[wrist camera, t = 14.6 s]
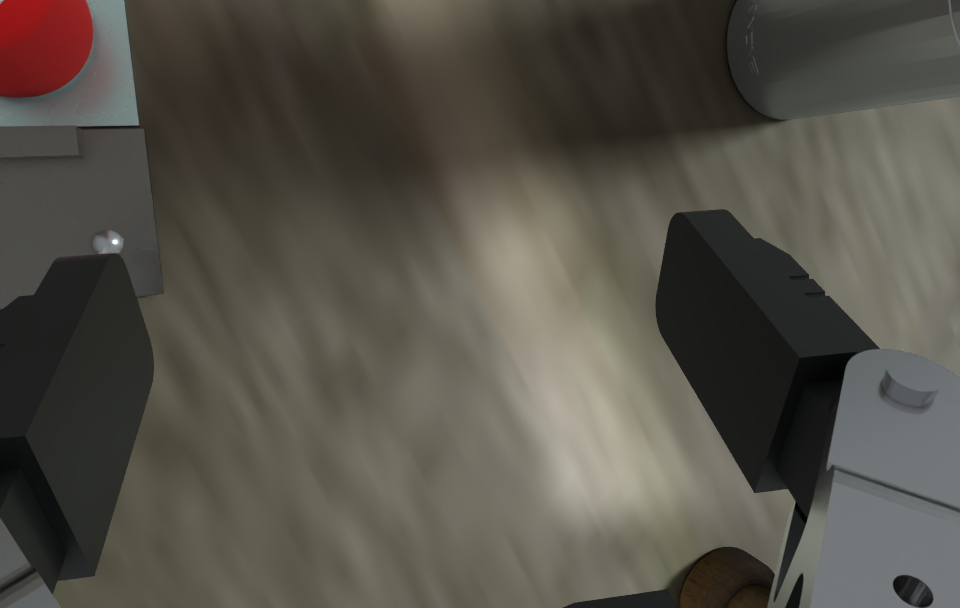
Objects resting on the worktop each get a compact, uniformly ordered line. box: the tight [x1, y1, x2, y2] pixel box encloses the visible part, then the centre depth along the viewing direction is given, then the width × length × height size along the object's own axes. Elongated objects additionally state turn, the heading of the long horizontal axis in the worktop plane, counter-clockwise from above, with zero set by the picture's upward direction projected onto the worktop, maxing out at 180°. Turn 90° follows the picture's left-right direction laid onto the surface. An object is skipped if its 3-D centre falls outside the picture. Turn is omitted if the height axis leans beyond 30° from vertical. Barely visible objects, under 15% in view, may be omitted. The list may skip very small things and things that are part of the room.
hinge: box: [0, 0, 164, 309], centre depth 30 cm, size 9×24×3 cm, turn 3°
